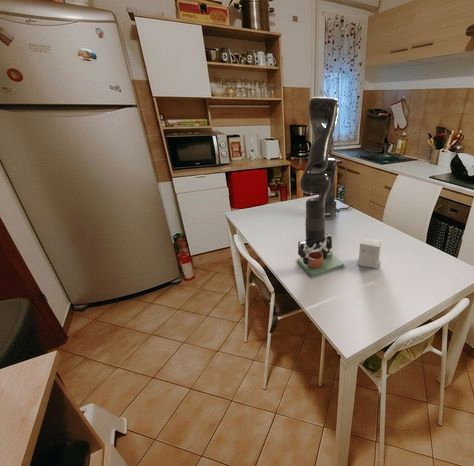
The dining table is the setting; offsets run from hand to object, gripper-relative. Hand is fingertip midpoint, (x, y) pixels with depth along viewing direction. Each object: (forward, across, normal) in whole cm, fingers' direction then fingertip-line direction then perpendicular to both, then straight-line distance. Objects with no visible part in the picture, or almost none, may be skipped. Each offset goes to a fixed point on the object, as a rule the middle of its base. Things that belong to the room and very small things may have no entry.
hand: (315, 261), depth 108 cm
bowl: (+2, 0, 0) cm, 2 cm away
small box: (+3, +21, -9) cm, 23 cm away
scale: (+3, +3, +1) cm, 4 cm away
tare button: (0, +8, +4) cm, 9 cm away
